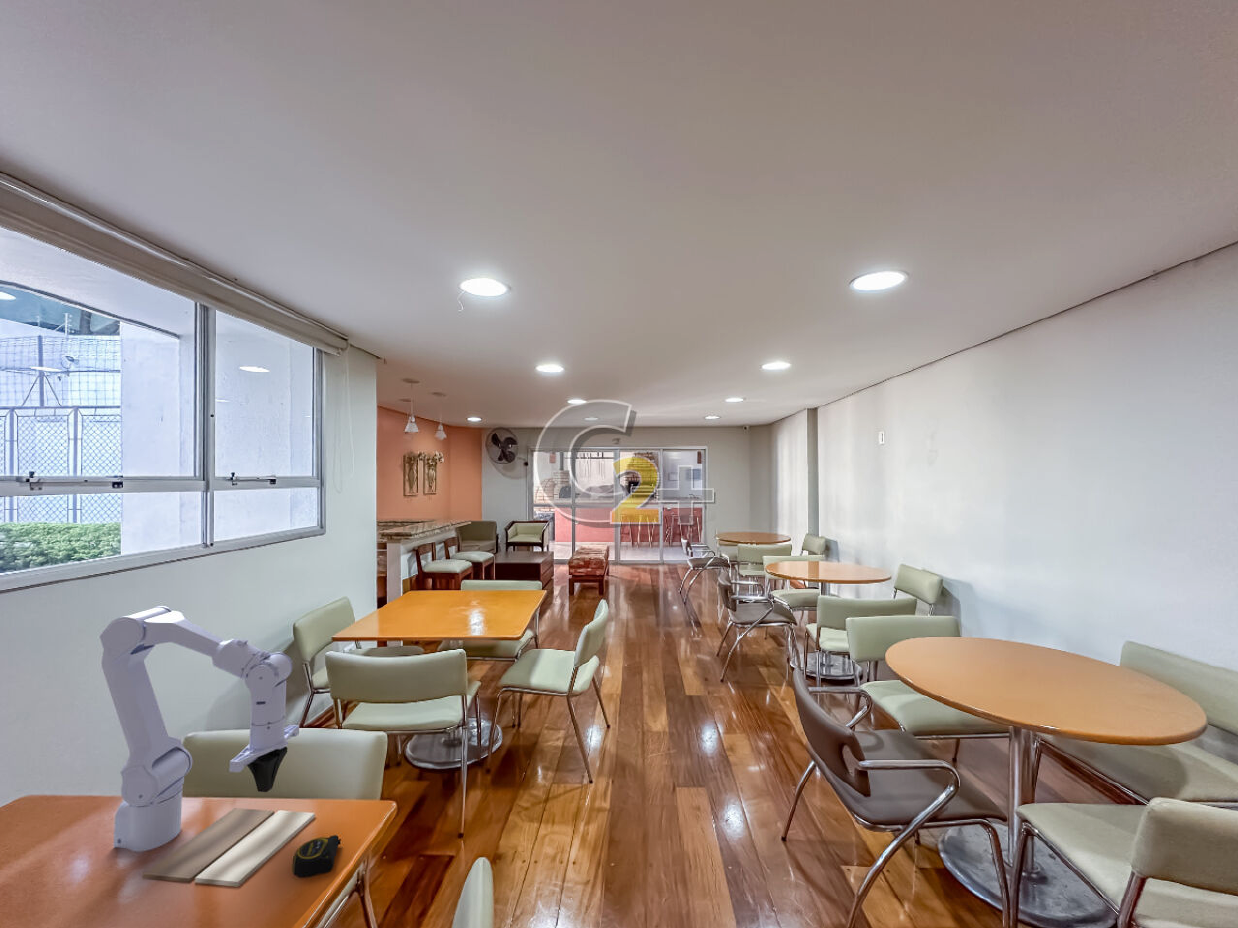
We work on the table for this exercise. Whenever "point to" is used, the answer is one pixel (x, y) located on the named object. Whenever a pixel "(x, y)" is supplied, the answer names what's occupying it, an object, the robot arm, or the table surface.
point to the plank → (255, 849)
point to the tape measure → (315, 856)
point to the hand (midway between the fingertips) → (265, 789)
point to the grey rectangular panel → (208, 845)
